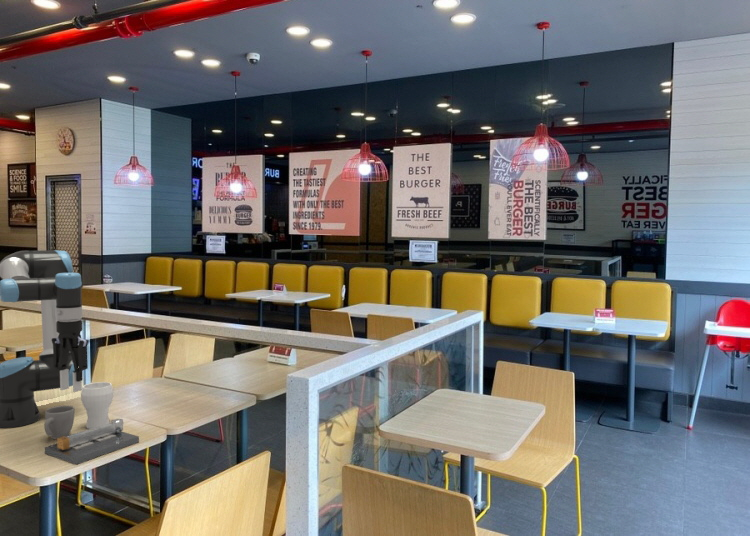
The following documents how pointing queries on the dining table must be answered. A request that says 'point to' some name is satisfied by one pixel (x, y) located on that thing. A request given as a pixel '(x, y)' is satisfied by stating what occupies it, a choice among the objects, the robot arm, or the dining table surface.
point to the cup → (97, 403)
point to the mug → (59, 421)
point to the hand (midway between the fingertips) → (71, 389)
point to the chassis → (93, 447)
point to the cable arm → (90, 434)
